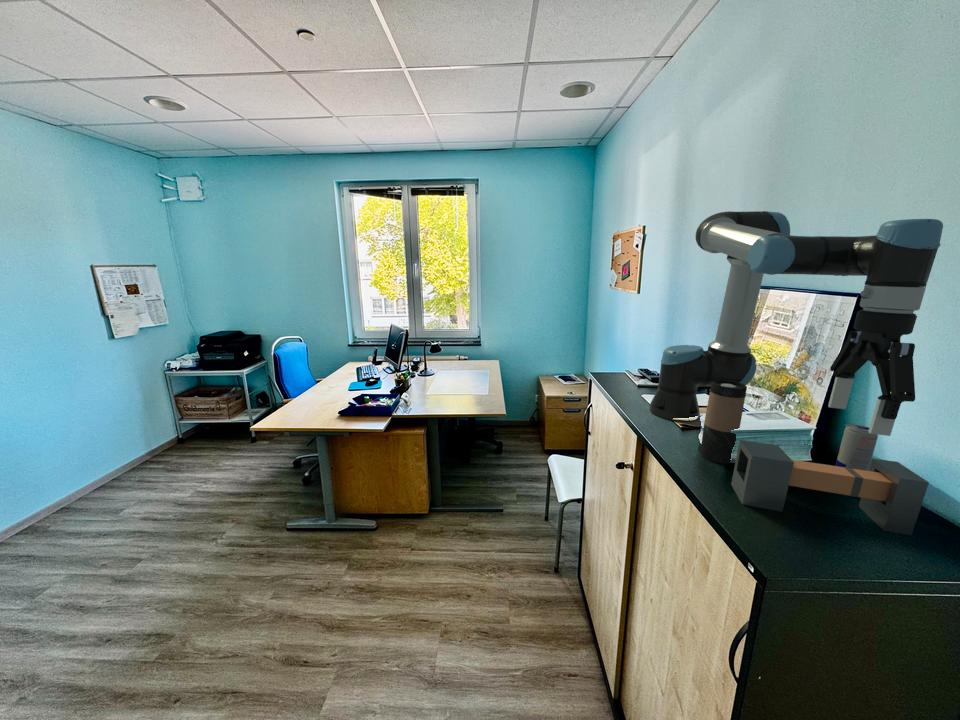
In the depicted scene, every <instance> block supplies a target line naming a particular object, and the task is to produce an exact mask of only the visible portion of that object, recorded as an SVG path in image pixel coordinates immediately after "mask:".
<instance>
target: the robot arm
mask: <svg viewBox="0 0 960 720" xmlns="http://www.w3.org/2000/svg"><path fill="white" fill-rule="evenodd" d="M943 228H944V223H943V221H942V220H939V219H937V218H910V219H897V220H890V221H885V222H884V223H882V224H881V225H880V226H879V228H878V231H877V233H876V235H865V236H864V235H863V236H842V235H841V236H839V235H837V236H835V235H834V236H833V235H832V236H831V235H830V236H827V235H826V236H821V235H820V236H819V235H817V236H816V235H815V236H805V235H801V236H800V235H791V225H790V222H789V220H788V218H787V216H786V215H785V214H783V213H782V212H778V211H777V212H776V211H766V210H763V211H759V210H757V211H731V210H730V211H721V212H716V213H714V214H711V215H710V216H708V217H706V218H705V219H704V220H703V221H701V223H700V224H699V225H698V227H697V229H696V231H695V242H696V244H697V246H698V248H700V249H701V250H703V251H705V252H708V253H710V254H719V253H721V254H724V255H726V260H727V261H728V263H729V264H730V267H729V268H730V269H729V273H728V278H727V284H726V288H725V292H724V297H723V301H722V302H723V303H722V307H721V312H720V317H719V320H718V325H717V330H716V335H715V339H714V340H712V341H711V342H710V343H709V344H708V346H707V350H704V348H703V347H702V346H699V345H689V344H681V345H680V344H679V345H671V346H668V347H666V348H665V349H664V350H663V352H662V356H661V359H660V369H659V370H660V371H659V379H658V384H657V390H656V391H655V394H654V396H653V397H652V400H651V401H650V404H649V412H650V413H652V414H653V415H654V416H657V417H659V418H662V419H665V420H670V421H673V420H672V419H673V418H689V417H695V416H698V415H699V416H700V408H699V406H700V405H699V403H698V398H697V392H698V388H699V386H700V387H711V382H713V383H714V382H715V381H716V380H728V381H734V382H738V383H741V384H744V385H746V386H748V384H749V383H750V382H751V381H752V380H753V378H754V376H755V375H756V371H757V364H756V363H757V358H756V357H755V356H754V354H752V348H750V346H749V345H748V340H749V337H750V332H751V329H752V323H753V320H754V317H755V311H756V307H757V303H758V299H759V295H760V291H761V288H762V287H761V286H762V283H763V278H764V276H765V275H768V276H769V275H770V276H771V275H773V276H774V275H807V276H809V275H811V276H817V275H818V276H835V277H837V276H839V277H840V276H841V277H848V276H852V277H854V276H856V277H857V276H860V277H861V276H862V277H863V276H864V277H865V276H866V279H865V281H864V287H863V290H862V291H860V296H861V298H860V302H859V307H861V308H862V309H859V310H858V311H857V312H856V315H855V319H854V324H853V329H854V330H850V331H849V333H848V336H847V338H846V341H845V342H844V344H843V346H842V347H841V349H840V351H839V352H838V354H837V356H836V357H835V359H834V361H833V362H832V363H831V366H830V367H829V368H830V369H829V370H830V371H831V372H834V373H833V375H834V377H835V378H834V383H833V386H832V390H831V392H830V393H831V394H830V398H829V401H828V405H827V406H828V408H831V409H839V410H847V407H848V403H849V401H850V399H849V398H850V395H851V392H852V388H853V385H854V382H855V378H856V375H855V374H856V373H857V372H858V371H859V370H860V369H861V368H862V367H863V366H864V365H865V364H867V362H871V365H873V366H874V367H875V369H876V374H877V378H878V382H879V383H878V384H879V387H880V391H881V395H879V396H877V400H876V404H875V407H874V411H873V415H872V417H871V420H870V424H869V426H868V427H869V431H868V432H869V433H871V434H878V436H888V437H891V434H892V432H893V429H894V424H895V422H896V419H897V417H898V414H899V410H900V407H901V405H902V403H904V402H911V403H913V402H915V400H916V388H915V387H916V386H915V384H916V383H915V371H914V370H915V369H914V354H915V349H916V345H915V343H911V342H909V343H908V342H901V337H902V336H904V335H905V336H908V335H910V334H912V333H913V331H914V328H915V324H916V321H917V318H918V315H917V314H916V313H915V311H917V312H918V311H919V310H920V309H921V306H922V303H923V298H924V296H925V292H926V288H927V283H928V280H929V278H930V275H931V271H932V270H933V269H932V268H933V265H934V262H935V260H936V255H937V252H938V250H939V248H940V246H941V239H942V234H943Z"/></svg>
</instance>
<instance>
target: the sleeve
mask: <svg viewBox="0 0 960 720" xmlns="http://www.w3.org/2000/svg"><path fill="white" fill-rule="evenodd" d="M792 460H793V459H791V458H790V457H789V456H788V454H787V453H786V452H785V451H784V450H783V449H782V448H781V447H780V446H779V445H778V444H772V443H766V442H765V443H764V442H757V441H751V440H743V439H740V440H739V442H738V447H737V453H736V458H735V463H734V468H733V474H732V477H731V483H730V486H732V489H733V491H734V492H735V494H736V495H737V498H738V500H739V501H740V503H741V504H742V505H743V506H749V507H750V506H751V507H756V508H759V509H766V510H771V511H775V512H781V513H782V512H783V511H784V507H785V502H786V498H787V493H788V489H789V482H790V477H791V473H792V469H793V464H794V462H793V461H792Z"/></svg>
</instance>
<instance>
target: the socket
mask: <svg viewBox="0 0 960 720" xmlns="http://www.w3.org/2000/svg"><path fill="white" fill-rule="evenodd" d="M868 471H872V472H879V473H882V474H884V475H885V476H886V477H888V478H889V479H890V480H892V481H893V482H892V485H891V488H890V492H889V495H888V498H887V501H886V502H885V501H879V500H873V499H867V498H861V497H860V500H859V503H858V508H859V509H861V510H862V511H863V512H864V513H865V515H867V516H868V517H869V518H870V519H871V520H872V521H873V522H874V523H876V525H877V526H878V527H880V529H881V530H882V531H885V532H889V533H895V534H901V535H906V536H911V537H912V535H913V532H914V529H915V525H916V524H917V520H918V517H919V515H920V511H921V509H922V506H923V502H924V498H925V496H926V493H927V489H928V488H929V484H930V482H929V481H928V480H926V479H924V478H923V477H922V476H920V475H919V474H917V473H915V472H914V471H912V470H911V469H909V468H908V467H907V466H905V465H903V464H902V463H900V462H899V461H893V460H888V459H887V460H886V459H878V458H873V457H872V459H871V463H870V466H869V470H868Z"/></svg>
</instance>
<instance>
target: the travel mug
mask: <svg viewBox="0 0 960 720" xmlns="http://www.w3.org/2000/svg"><path fill="white" fill-rule="evenodd" d="M747 386H748V385H744V384H741V383H738V382H734V381H728V380H716V381H715V382H714V383H713V382H711V386H710V390H709V395H708V400H707V405H706V411H705V417H704V422H703V431H702V438H701V444H700V456H701V457H702V458H703V459H705V460H707V461H709V462H712V463H716V464H717V463H718V464H724V465H725V464H730V463H731V460H730V459H731V453H732V449H733V447H734V445H735V441H736V434H734V433H731V430H734V429H738V428H740V427H741V424H742V423H741V422H742V416H743V411H744V406H745V399H746V394H747V388H748V387H747Z"/></svg>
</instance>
